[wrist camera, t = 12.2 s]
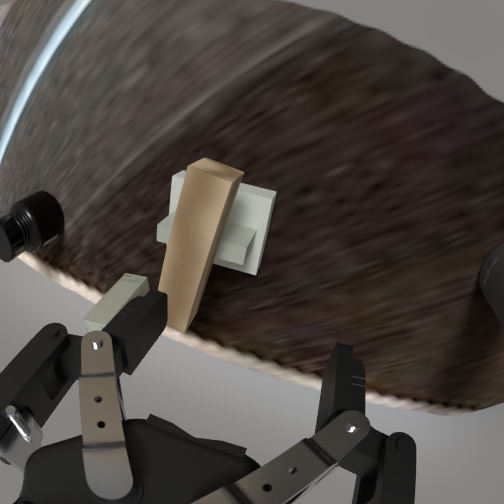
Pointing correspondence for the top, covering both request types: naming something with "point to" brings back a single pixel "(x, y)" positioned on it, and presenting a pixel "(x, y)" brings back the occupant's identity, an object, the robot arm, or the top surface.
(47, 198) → the ink bottle
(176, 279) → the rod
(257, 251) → the fulcrum
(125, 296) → the skincare box
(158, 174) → the top surface
